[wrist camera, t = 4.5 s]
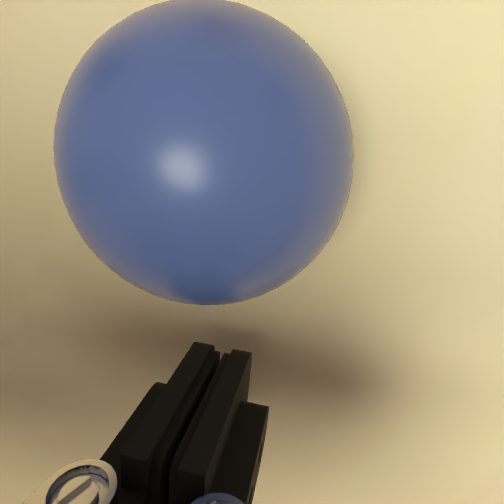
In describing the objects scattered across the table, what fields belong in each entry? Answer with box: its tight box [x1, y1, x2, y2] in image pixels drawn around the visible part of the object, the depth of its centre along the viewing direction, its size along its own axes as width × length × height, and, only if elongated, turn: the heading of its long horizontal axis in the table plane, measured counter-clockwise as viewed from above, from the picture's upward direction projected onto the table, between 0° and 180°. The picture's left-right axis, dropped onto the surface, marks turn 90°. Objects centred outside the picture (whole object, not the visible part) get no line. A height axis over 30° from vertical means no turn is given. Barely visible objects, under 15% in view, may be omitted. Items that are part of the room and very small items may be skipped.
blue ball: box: [54, 0, 354, 305], centre depth 7 cm, size 6×6×6 cm
